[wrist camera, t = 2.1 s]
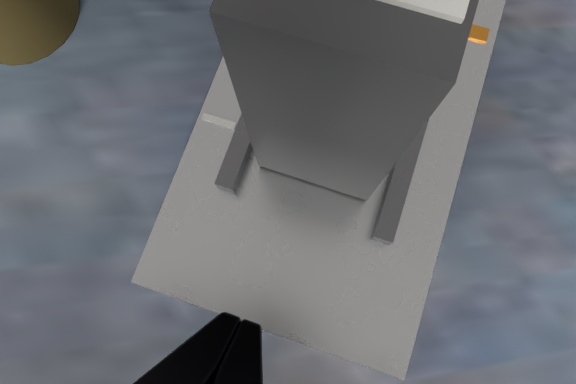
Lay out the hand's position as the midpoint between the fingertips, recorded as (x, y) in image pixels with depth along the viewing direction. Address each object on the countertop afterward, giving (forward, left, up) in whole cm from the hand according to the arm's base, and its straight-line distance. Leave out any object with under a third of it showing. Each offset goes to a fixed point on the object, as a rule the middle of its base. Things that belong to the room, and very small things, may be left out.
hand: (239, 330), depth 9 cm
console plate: (+6, -7, -11) cm, 14 cm away
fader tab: (+5, -5, -9) cm, 12 cm away
